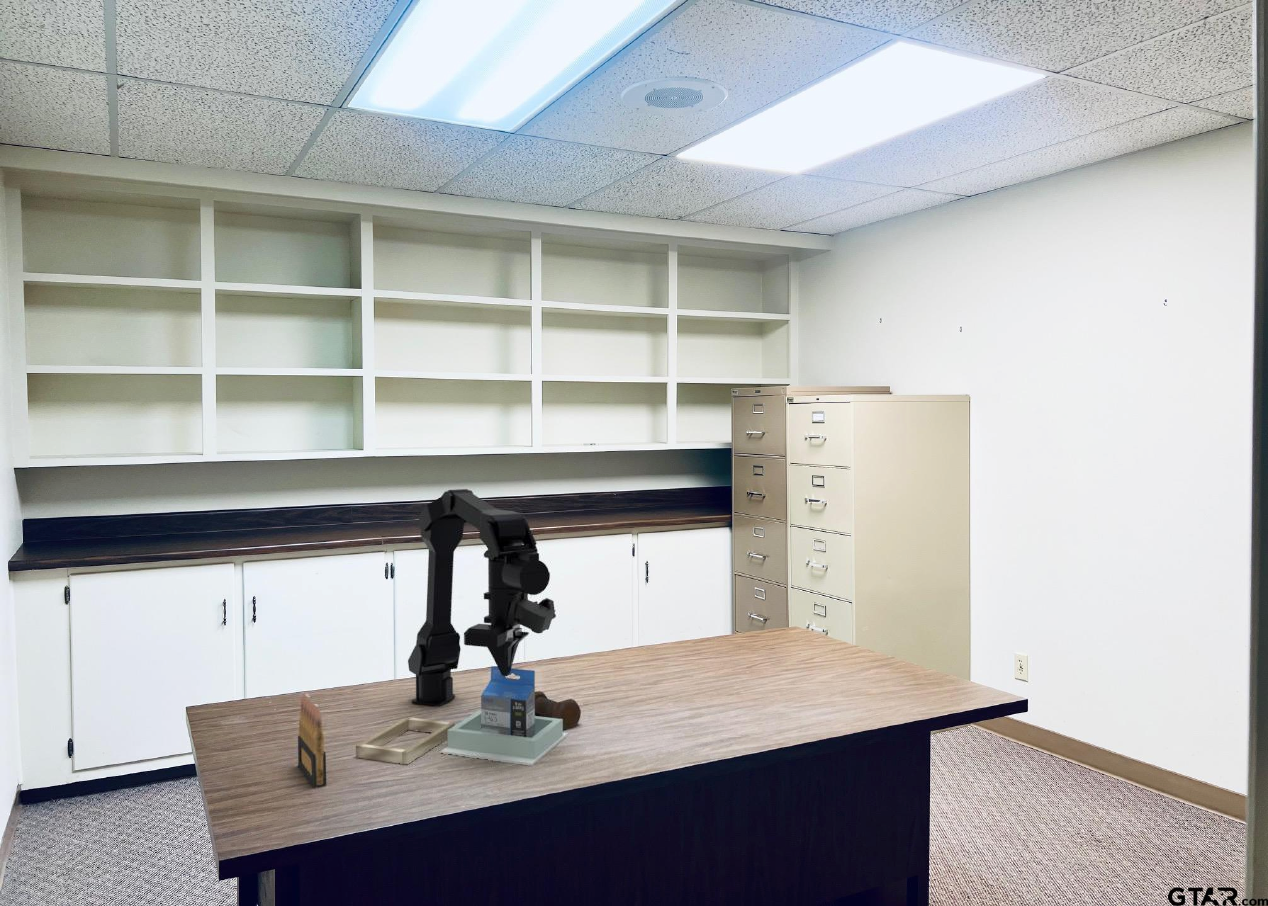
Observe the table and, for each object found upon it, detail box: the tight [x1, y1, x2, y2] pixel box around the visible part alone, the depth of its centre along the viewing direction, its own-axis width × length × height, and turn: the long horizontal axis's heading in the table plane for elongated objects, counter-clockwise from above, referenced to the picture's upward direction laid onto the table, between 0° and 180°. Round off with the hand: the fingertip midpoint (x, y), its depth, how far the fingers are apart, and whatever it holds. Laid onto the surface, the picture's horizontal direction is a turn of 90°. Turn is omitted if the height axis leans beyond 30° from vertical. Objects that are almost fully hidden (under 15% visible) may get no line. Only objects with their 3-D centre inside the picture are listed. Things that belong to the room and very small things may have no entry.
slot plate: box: [440, 709, 569, 767], centre depth 152 cm, size 17×15×3 cm
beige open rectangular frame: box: [355, 716, 456, 765], centre depth 152 cm, size 10×15×2 cm, turn 161°
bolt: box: [535, 690, 582, 731], centre depth 165 cm, size 6×5×15 cm
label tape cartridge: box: [480, 665, 536, 738], centre depth 152 cm, size 9×4×12 cm, turn 71°
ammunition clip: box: [297, 693, 327, 789], centre depth 139 cm, size 11×2×12 cm, turn 33°
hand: (505, 675), depth 152 cm, fingers closed
